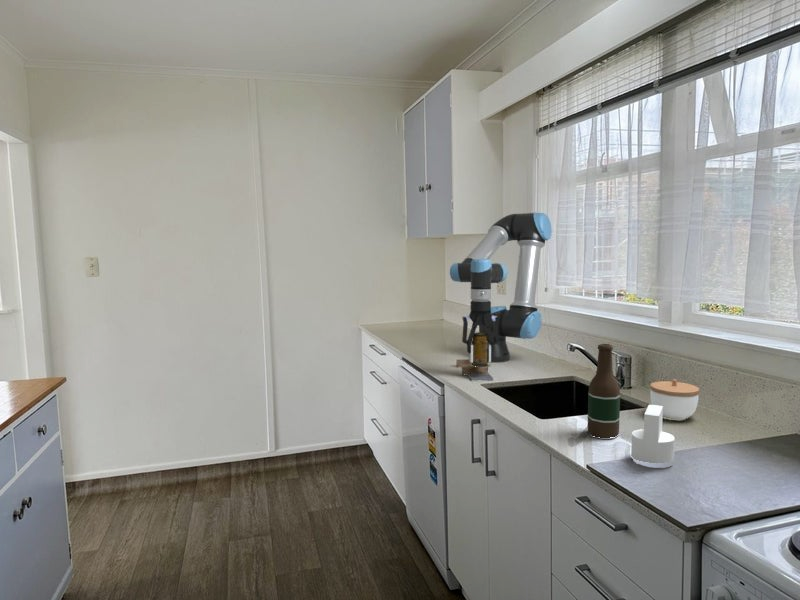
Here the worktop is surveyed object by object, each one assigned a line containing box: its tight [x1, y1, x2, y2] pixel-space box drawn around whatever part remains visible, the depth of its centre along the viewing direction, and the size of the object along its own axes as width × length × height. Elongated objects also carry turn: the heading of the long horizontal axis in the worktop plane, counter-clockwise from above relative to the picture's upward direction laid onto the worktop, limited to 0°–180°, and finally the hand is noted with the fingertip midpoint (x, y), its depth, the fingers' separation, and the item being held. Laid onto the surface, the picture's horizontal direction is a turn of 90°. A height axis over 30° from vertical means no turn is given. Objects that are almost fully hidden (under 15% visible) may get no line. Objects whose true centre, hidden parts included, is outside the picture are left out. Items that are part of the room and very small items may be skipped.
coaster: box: [467, 372, 494, 381], centre depth 209 cm, size 8×8×1 cm
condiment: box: [467, 332, 496, 368], centre depth 208 cm, size 7×8×12 cm
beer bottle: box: [587, 343, 621, 438], centre depth 144 cm, size 8×8×24 cm
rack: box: [456, 358, 489, 376], centre depth 222 cm, size 10×15×3 cm, turn 3°
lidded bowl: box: [649, 378, 700, 419], centre depth 159 cm, size 13×13×11 cm
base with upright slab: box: [630, 404, 676, 463], centre depth 127 cm, size 9×9×12 cm
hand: (480, 361), depth 209 cm, fingers closed on condiment, 6 cm apart
